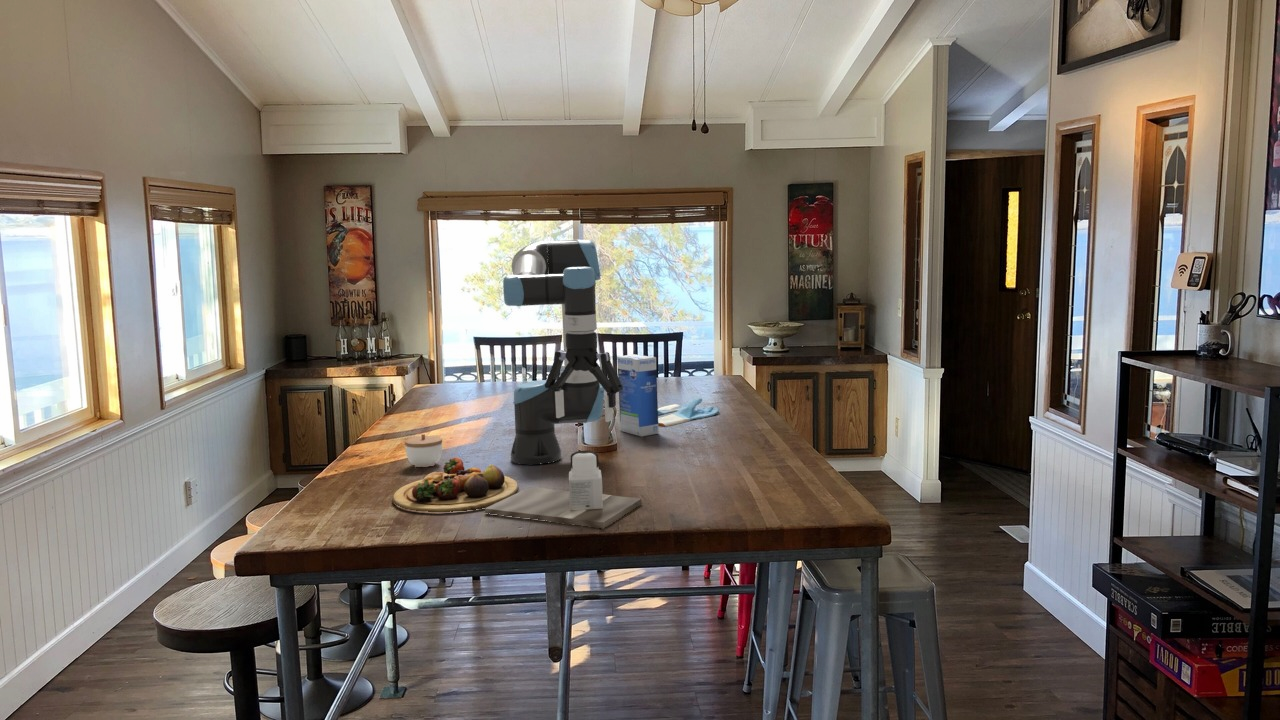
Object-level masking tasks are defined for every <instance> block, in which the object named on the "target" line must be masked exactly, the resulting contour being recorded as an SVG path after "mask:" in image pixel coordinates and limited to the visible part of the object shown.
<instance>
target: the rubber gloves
mask: <svg viewBox="0 0 1280 720" xmlns="http://www.w3.org/2000/svg"><path fill="white" fill-rule="evenodd" d="M702 401H703V399H702V397H697V398H695V399H693V400H690V401H689V402H686V403H684V404H683V405H682V406H681V405H679V404H677V403H674V404H670V405H664V406H662V407H658V416H661V417H658V427H659V426H660V427H664V428H666V427H671V426H675V425H680V424H682V423H687V422H690V421H693V420H700V418H701V419H704V418H705V417H706V418H708V417H713V416H715V415H717V414H718V413H720V408H718V407H713V406H712V405H708V406H707V407H704V406H703V407H699V408H697V406H698V405H699V404H701V403H702ZM680 406H681V407H680ZM677 407H680V408H677ZM674 408H675V409H674ZM696 408H697V409H696ZM666 414H669V415H666ZM662 415H665V416H662ZM706 418H705V419H706Z"/></svg>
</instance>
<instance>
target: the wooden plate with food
mask: <svg viewBox="0 0 1280 720" xmlns="http://www.w3.org/2000/svg"><path fill="white" fill-rule="evenodd" d="M442 469H443V471H444V472H441V471H433V472H430V473H429V474H426V476H425V477H424V478H423V479H419V480H415V481H413V482H410V483H408V484H405V485H403V486H401V487H399V489H397V490H396V491H395V493H394V494H393V496H392V503H393V502H394V503H395V504H396V505H398V506H400V507H402V508H405V509H410V510H416V511H428V512H450V511H451V512H453V511H467V510H476V509H482V508H487V507H489V506H491V505H493V504H495V503H497V502H499V501H502V500H504V499H506V498H508V497H510V496H512V495H514V494H516V493H518V492H519V489H520V488H519V484H518V483H517V481H516V480H515V479H513V478H511V477H509V476H506V475H505V474H504V471H502V469H500V468H499V467H498V466H497V465H493V464H489V465H488V466H487V467H485V470H484V471H482V469H480V468H479V467H476V466H475V467H469V468H467V469H465V466H464V462H463V460H462V458H459V457H457V456H454V457H453V458H450V459H449V461H447V462H446V461H445V462H444V465H443V467H442ZM394 503H393V504H394Z"/></svg>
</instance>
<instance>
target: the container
mask: <svg viewBox="0 0 1280 720" xmlns="http://www.w3.org/2000/svg"><path fill="white" fill-rule="evenodd" d="M568 489H569V490H568V491H569V497H570V510H591V509H602V508H603V495H602V494H603V478H602V470H601V469H599V454H598V453H597V452H595V451H594V450H577V451H575V452H573V453H571V455H570V471H569V472H568Z"/></svg>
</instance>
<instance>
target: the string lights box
mask: <svg viewBox="0 0 1280 720" xmlns="http://www.w3.org/2000/svg"><path fill="white" fill-rule="evenodd" d="M616 359H617V360H616V361H617V362H616V363H617V376H618V378H619V380H620V382H621V385H622V387H623V390H622V391H619V392H618V404H619V405H618V406H619V423H620V424H619V425H620V428H619V429H620V431H619V432H623V433H627V434H631V435H635V436H638V437H647V436H652V435H656V434H659V428H660V427H659V425H658V423H659V422H658V418H659V415H658V408H659V407H658V403H659V402H658V400H659V399H658V379H657V376H658V375H657V357H656V356H651V355H650V356H649V355H648V356H647V355H642V354H635V353H633V354H626V355H618V356H616Z"/></svg>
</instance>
